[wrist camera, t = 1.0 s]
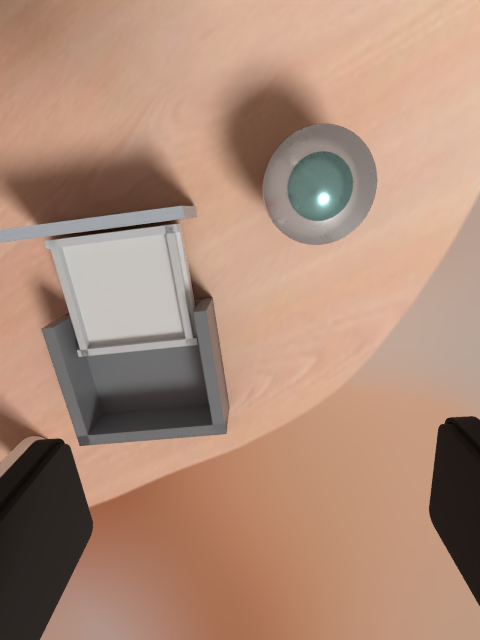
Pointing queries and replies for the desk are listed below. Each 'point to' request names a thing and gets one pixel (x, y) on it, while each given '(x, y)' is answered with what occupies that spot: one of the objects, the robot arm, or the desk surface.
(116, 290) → the grey drawer
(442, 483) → the robot arm
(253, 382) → the desk surface
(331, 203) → the disc
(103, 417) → the dark grey drawer housing
